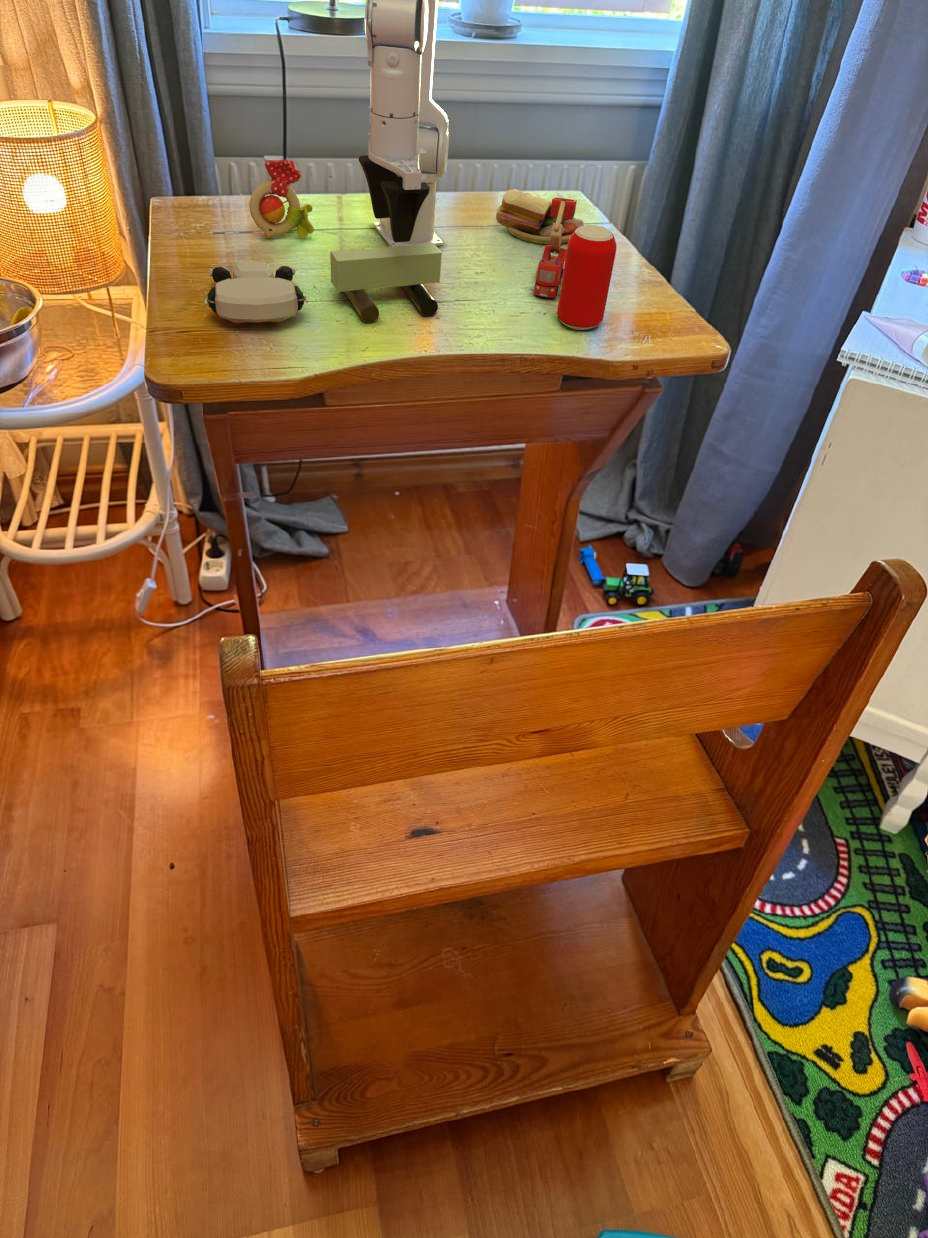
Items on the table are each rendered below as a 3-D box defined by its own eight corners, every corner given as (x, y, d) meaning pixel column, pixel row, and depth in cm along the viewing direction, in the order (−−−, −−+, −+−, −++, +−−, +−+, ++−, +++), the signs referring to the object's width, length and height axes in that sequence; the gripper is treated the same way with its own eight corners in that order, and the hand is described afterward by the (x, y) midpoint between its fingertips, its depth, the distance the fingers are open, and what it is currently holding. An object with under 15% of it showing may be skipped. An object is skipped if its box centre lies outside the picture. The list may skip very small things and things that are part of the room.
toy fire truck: (531, 298, 126) (541, 226, 119) (545, 259, 136) (554, 191, 129) (555, 302, 126) (566, 230, 119) (567, 263, 135) (578, 195, 129)
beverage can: (547, 323, 121) (560, 231, 113) (570, 307, 125) (585, 217, 116) (587, 338, 119) (604, 245, 110) (609, 322, 122) (627, 231, 114)
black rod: (391, 278, 127) (391, 261, 125) (407, 277, 128) (408, 260, 126) (420, 317, 119) (421, 299, 117) (437, 315, 120) (438, 298, 118)
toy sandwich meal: (568, 253, 138) (573, 221, 135) (485, 234, 141) (487, 202, 138) (590, 225, 147) (595, 195, 144) (511, 208, 150) (514, 178, 146)
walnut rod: (335, 283, 124) (334, 266, 123) (352, 282, 125) (352, 264, 124) (361, 323, 117) (361, 305, 115) (379, 322, 117) (379, 304, 116)
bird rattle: (276, 260, 133) (330, 230, 134) (239, 189, 125) (297, 157, 125) (265, 243, 137) (317, 214, 138) (228, 174, 129) (284, 143, 129)
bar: (337, 291, 117) (337, 261, 114) (330, 281, 119) (330, 250, 117) (439, 282, 122) (441, 252, 119) (431, 272, 124) (433, 242, 121)
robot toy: (206, 290, 122) (208, 336, 111) (202, 255, 119) (203, 298, 108) (300, 288, 124) (310, 333, 113) (298, 254, 121) (308, 296, 110)
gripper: (448, 129, 103) (441, 249, 113) (407, 91, 113) (403, 205, 122) (389, 131, 101) (386, 253, 111) (351, 93, 111) (352, 208, 120)
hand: (392, 228), depth 116 cm, fingers open, 7 cm apart
